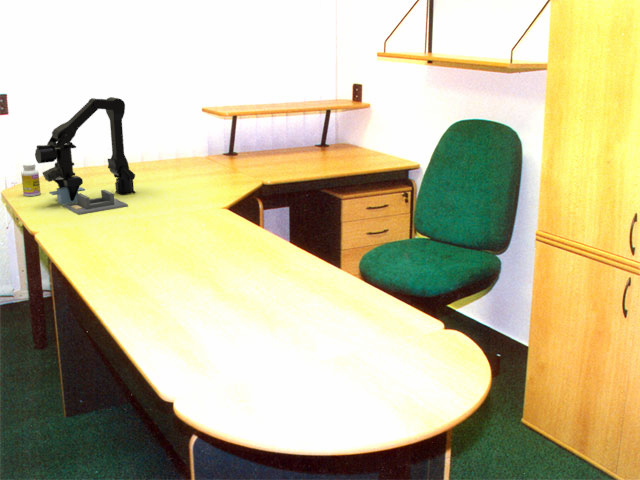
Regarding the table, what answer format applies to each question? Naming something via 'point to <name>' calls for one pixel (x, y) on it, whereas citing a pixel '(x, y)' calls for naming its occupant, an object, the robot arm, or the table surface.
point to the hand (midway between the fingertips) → (68, 198)
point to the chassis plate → (95, 203)
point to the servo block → (65, 195)
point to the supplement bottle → (30, 180)
